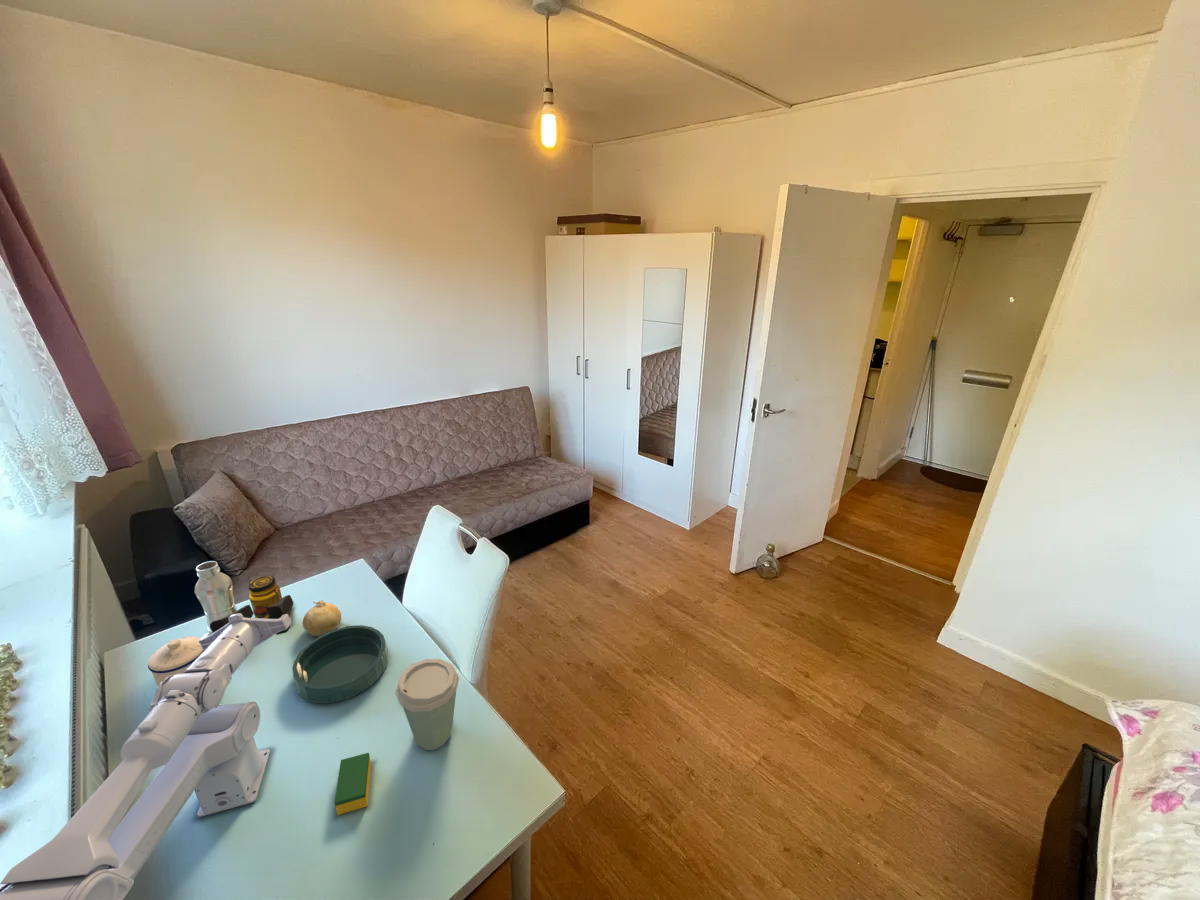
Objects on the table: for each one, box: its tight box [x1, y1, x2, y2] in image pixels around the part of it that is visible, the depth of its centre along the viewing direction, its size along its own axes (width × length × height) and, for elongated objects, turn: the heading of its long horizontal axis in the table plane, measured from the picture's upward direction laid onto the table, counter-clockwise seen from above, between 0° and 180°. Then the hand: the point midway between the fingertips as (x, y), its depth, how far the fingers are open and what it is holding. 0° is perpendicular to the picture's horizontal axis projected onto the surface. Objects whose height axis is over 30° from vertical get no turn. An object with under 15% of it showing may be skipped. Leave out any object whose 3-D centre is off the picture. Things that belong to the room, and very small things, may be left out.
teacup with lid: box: [147, 635, 205, 688], centre depth 99 cm, size 12×9×12 cm
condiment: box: [248, 575, 293, 621], centre depth 116 cm, size 7×8×12 cm
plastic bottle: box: [194, 560, 238, 633], centre depth 109 cm, size 6×7×20 cm
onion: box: [302, 600, 342, 638], centre depth 115 cm, size 8×8×7 cm
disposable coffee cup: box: [395, 658, 460, 751], centre depth 89 cm, size 11×11×15 cm
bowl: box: [291, 624, 389, 704], centre depth 104 cm, size 18×18×4 cm
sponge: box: [334, 752, 372, 816], centre depth 82 cm, size 8×4×3 cm, turn 19°
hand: (270, 604), depth 94 cm, fingers open, 7 cm apart
